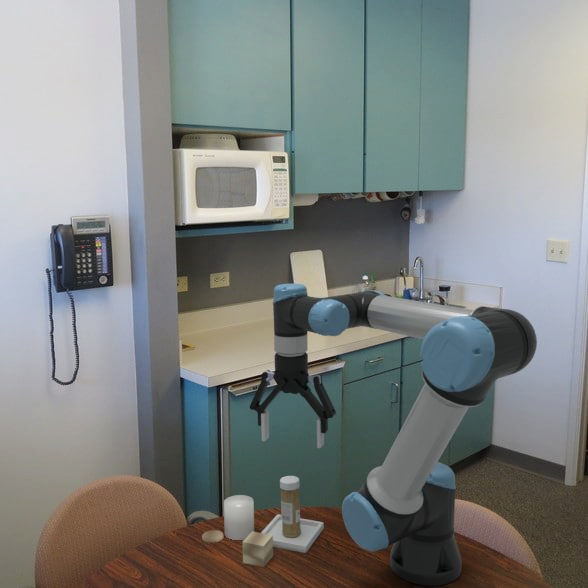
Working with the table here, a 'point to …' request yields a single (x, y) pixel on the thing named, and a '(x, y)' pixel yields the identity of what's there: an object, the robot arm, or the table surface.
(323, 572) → the table surface
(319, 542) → the table surface
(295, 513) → the sprinkles bottle
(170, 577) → the table surface
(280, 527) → the tray
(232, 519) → the frosted white cylinder
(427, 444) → the robot arm
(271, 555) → the maple block
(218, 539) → the cork coaster
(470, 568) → the table surface
